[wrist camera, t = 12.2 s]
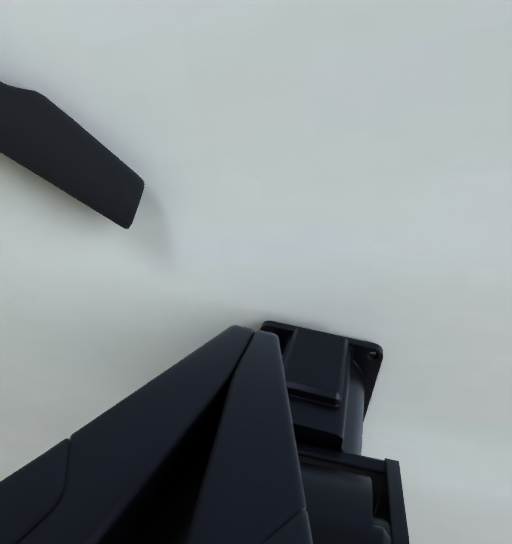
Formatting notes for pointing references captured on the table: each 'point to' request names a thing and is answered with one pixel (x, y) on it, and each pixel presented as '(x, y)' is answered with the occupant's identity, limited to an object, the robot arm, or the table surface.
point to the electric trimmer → (66, 155)
